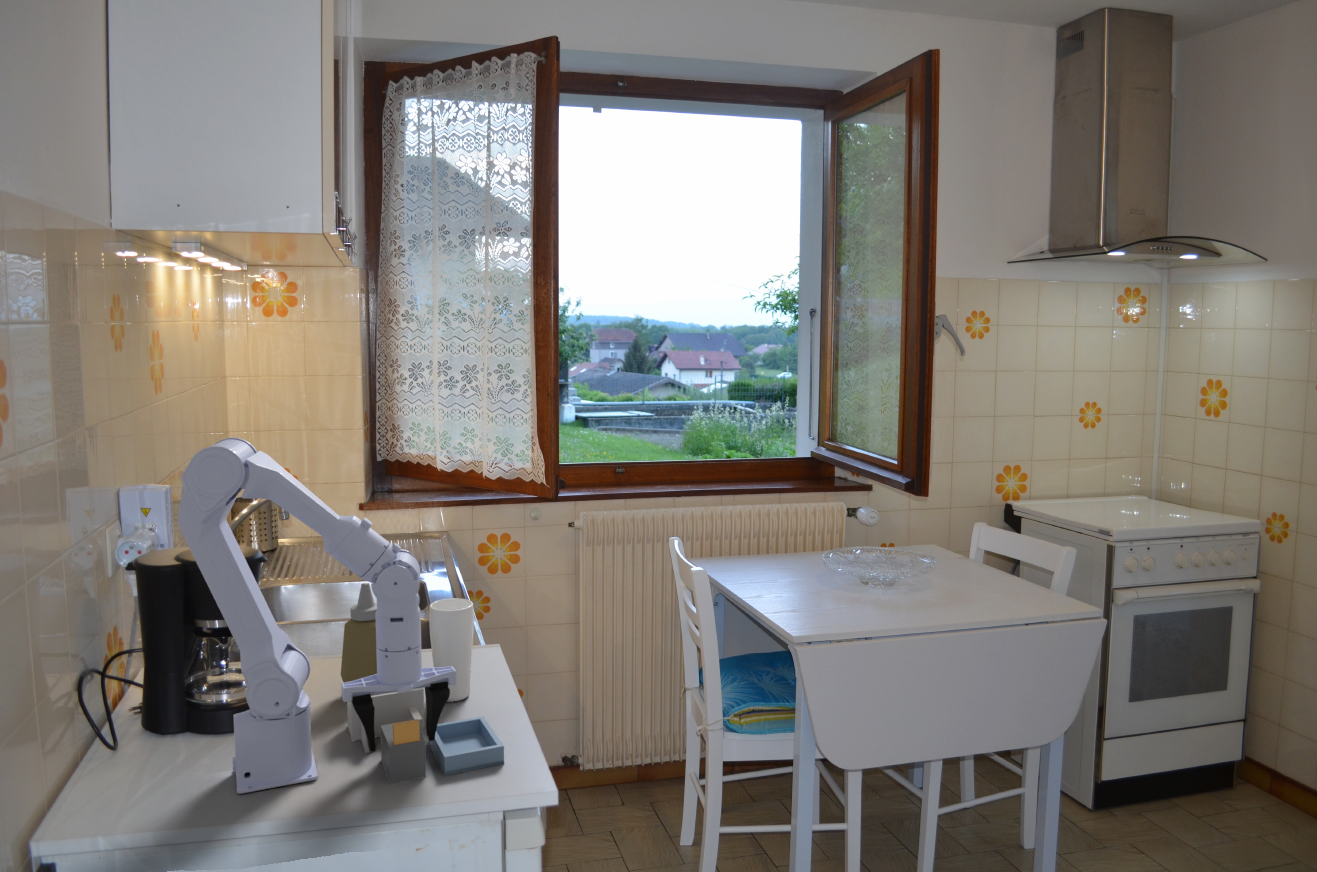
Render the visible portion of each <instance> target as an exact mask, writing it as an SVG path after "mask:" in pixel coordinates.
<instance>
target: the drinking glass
mask: <svg viewBox="0 0 1317 872" xmlns="http://www.w3.org/2000/svg"><path fill="white" fill-rule="evenodd" d="M474 613H475V612H474V603H473V601H471V600H469V599H466V598H458V597H456V598H454V597H451V598H449V597H448V598H443V599H438V600H436V601H433V602H431V603H430V604H429V617H428V618H429V622H428V623H429V636H430V637H429V638H430V647H431V656H432V666H433V667H432V668H435V667H449V666H453V667H454V669H455V670H456V684H455V685H448V688H449V689H450V696H449V699H448V700H447V702H448V703H449V702H450V703H452V702H453V701H455V702H460V701H462V700H463V701H464V699H466V698H468V697H469V695H470V693H471V673H472V671H471V668H472V658H473V647H474V632H475V631H474V627H475V616H474ZM447 702H446V703H447ZM453 703H454V702H453Z"/></svg>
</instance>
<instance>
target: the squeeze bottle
mask: <svg viewBox="0 0 1317 872" xmlns="http://www.w3.org/2000/svg"><path fill="white" fill-rule="evenodd" d="M376 611H377V602H375V601H374V597H373V591H372V588H371V583H370V582H364V583H361V584H360V590H359V594H358V600H357V603H356V604H354V605H352V606H350V619H349V620H347V621H346V622H345V623H344V627H343V628H344V629H343V642H342V655H341V663H340V665H341V666H340V678H341V680H342V683H345V682H350V681H354V680H358V679H361V678H365V677H368V676H372V675H375V674H377V654H376V619H375V613H376Z"/></svg>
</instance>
